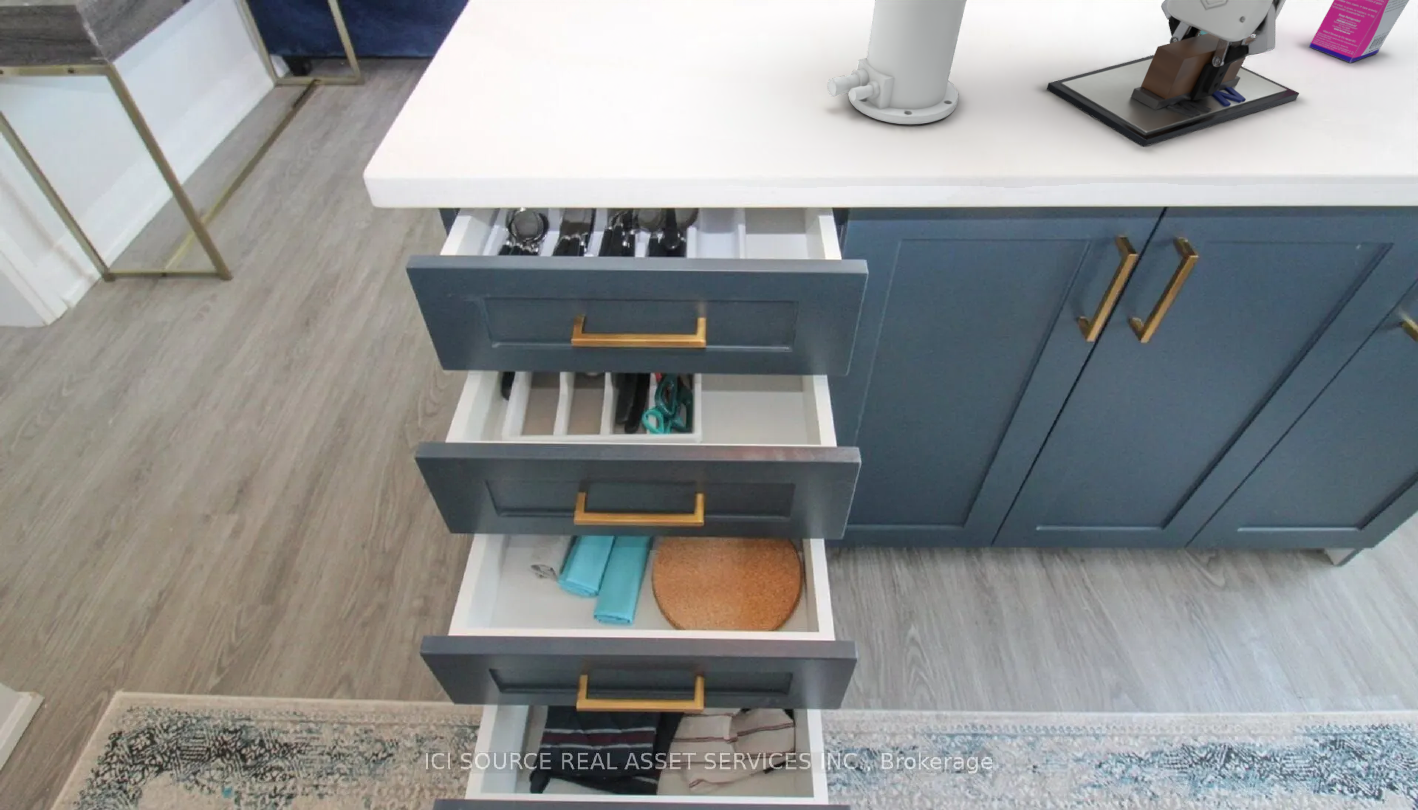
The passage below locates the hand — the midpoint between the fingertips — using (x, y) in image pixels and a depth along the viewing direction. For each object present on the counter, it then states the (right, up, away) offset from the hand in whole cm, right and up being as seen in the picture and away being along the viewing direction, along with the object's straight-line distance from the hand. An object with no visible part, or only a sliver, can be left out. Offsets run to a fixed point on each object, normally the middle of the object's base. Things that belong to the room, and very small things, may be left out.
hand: (1185, 87), depth 87 cm
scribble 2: (+4, -1, -1) cm, 5 cm away
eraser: (0, 0, 0) cm, 0 cm away
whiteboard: (-1, 0, +2) cm, 2 cm away
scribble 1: (-1, -4, -3) cm, 5 cm away
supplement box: (+26, +9, +10) cm, 29 cm away
